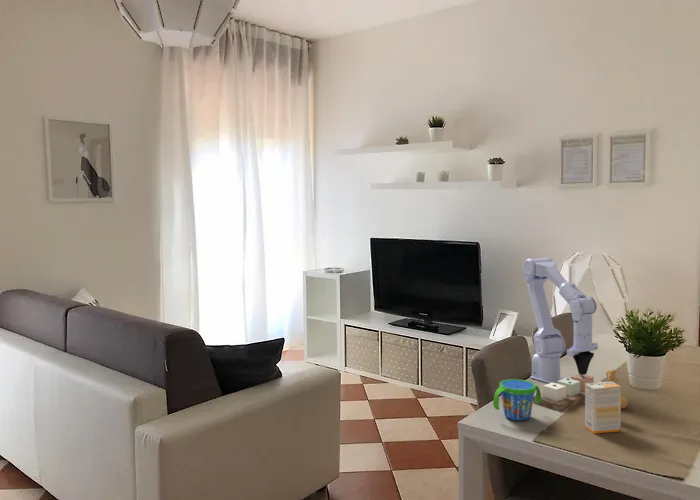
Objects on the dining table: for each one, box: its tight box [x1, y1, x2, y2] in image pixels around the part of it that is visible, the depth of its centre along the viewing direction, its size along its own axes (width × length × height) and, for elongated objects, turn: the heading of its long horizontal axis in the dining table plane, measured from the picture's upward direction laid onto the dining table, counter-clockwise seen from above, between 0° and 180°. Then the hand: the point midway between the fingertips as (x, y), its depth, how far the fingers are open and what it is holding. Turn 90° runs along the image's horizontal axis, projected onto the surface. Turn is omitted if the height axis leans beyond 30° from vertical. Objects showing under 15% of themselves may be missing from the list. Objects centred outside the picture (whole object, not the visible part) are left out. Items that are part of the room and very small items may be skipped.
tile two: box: [557, 377, 580, 397], centre depth 189 cm, size 5×5×4 cm
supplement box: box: [584, 381, 622, 435], centre depth 163 cm, size 8×5×13 cm, turn 97°
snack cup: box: [492, 378, 542, 422], centre depth 174 cm, size 16×10×10 cm
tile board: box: [533, 391, 585, 412], centre depth 189 cm, size 24×10×2 cm, turn 125°
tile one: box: [542, 382, 566, 402], centre depth 184 cm, size 5×5×4 cm
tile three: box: [570, 373, 595, 392], centre depth 193 cm, size 5×5×4 cm
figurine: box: [606, 369, 628, 410], centre depth 179 cm, size 8×6×12 cm
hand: (582, 373), depth 193 cm, fingers closed
